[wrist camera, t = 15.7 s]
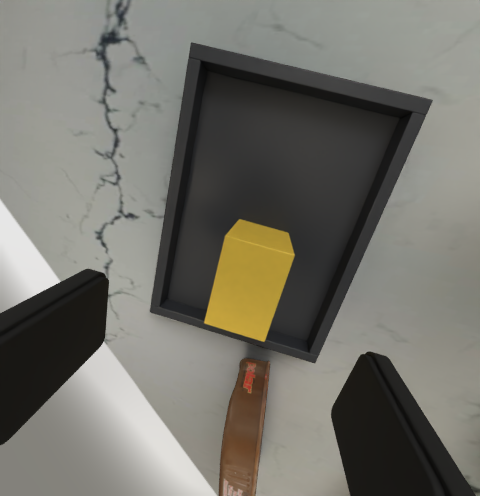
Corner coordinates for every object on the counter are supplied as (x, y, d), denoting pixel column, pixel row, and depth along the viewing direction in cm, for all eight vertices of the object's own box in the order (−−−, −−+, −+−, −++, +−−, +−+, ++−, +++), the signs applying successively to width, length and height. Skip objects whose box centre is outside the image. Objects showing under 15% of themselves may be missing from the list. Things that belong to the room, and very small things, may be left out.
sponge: (222, 285, 20) (203, 323, 15) (239, 218, 18) (225, 235, 13) (266, 298, 20) (264, 342, 15) (288, 232, 18) (295, 255, 13)
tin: (260, 454, 26) (254, 575, 18) (232, 448, 26) (214, 565, 18) (273, 340, 22) (272, 434, 14) (239, 335, 22) (220, 424, 14)
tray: (201, 58, 16) (190, 41, 14) (412, 110, 15) (433, 99, 13) (160, 300, 22) (149, 312, 20) (311, 346, 21) (315, 363, 19)
